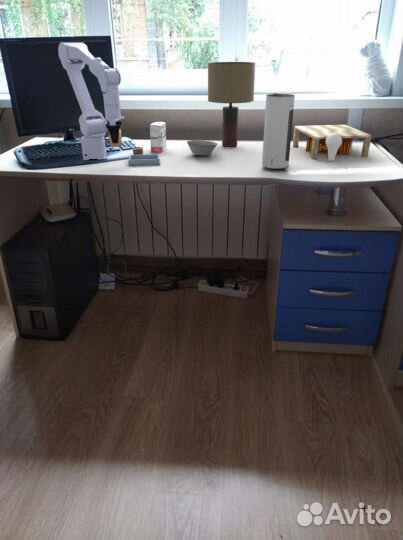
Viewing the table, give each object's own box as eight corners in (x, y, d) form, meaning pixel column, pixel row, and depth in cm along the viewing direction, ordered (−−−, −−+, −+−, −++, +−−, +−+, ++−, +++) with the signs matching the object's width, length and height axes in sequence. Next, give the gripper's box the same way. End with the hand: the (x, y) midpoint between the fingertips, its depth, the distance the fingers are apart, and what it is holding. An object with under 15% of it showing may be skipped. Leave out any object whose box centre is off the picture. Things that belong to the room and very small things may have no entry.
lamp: (258, 144, 200) (263, 62, 183) (238, 152, 185) (241, 63, 168) (221, 140, 209) (222, 61, 193) (199, 147, 194) (198, 63, 178)
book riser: (312, 158, 174) (314, 136, 170) (292, 145, 196) (294, 126, 192) (367, 156, 176) (371, 135, 172) (342, 144, 199) (344, 124, 195)
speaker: (282, 170, 158) (288, 95, 146) (257, 166, 163) (260, 94, 151) (292, 164, 166) (299, 92, 154) (268, 161, 171) (272, 91, 159)
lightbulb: (339, 160, 172) (343, 132, 166) (338, 163, 167) (342, 134, 161) (323, 159, 173) (327, 131, 168) (322, 162, 168) (326, 134, 163)
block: (133, 159, 176) (132, 149, 174) (133, 157, 179) (133, 147, 177) (143, 159, 176) (142, 149, 174) (143, 156, 180) (142, 147, 178)
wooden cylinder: (109, 147, 162) (108, 130, 160) (110, 144, 166) (108, 128, 164) (121, 146, 163) (120, 130, 160) (122, 144, 167) (120, 128, 164)
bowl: (180, 153, 179) (181, 141, 177) (196, 149, 189) (196, 138, 187) (207, 157, 173) (208, 145, 171) (221, 154, 184) (222, 142, 182)
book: (305, 152, 186) (306, 140, 184) (310, 146, 197) (312, 135, 194) (348, 155, 180) (350, 143, 178) (351, 149, 190) (353, 138, 188)
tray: (129, 165, 166) (128, 160, 165) (129, 160, 174) (129, 155, 173) (159, 164, 167) (159, 159, 166) (159, 159, 175) (158, 154, 174)
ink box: (161, 153, 185) (160, 124, 179) (150, 152, 186) (148, 124, 180) (167, 149, 192) (165, 121, 187) (156, 148, 193) (154, 121, 188)
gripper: (122, 106, 152) (125, 145, 158) (123, 101, 164) (126, 137, 171) (102, 107, 151) (106, 146, 157) (105, 102, 164) (109, 138, 170)
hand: (115, 141), depth 164 cm, fingers closed on wooden cylinder, 4 cm apart
